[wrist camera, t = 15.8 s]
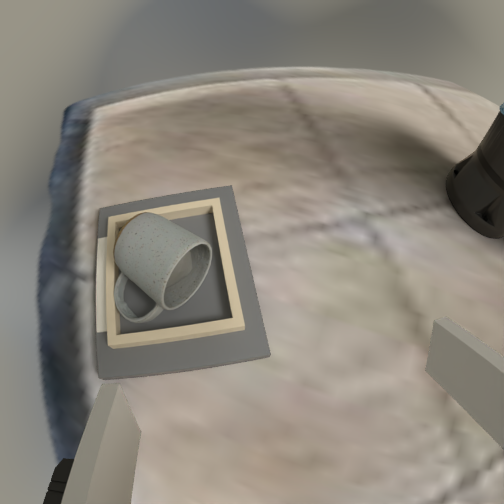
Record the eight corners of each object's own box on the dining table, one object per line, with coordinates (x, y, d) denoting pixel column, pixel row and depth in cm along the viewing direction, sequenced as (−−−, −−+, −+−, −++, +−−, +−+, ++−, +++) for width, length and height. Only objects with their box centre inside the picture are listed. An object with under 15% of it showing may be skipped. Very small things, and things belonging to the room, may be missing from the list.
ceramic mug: (161, 232, 37) (146, 190, 30) (216, 266, 35) (210, 228, 28) (104, 299, 32) (73, 269, 26) (157, 343, 30) (132, 322, 24)
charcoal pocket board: (231, 192, 42) (231, 177, 40) (269, 356, 32) (272, 350, 29) (103, 215, 40) (96, 201, 37) (104, 380, 29) (92, 375, 27)
